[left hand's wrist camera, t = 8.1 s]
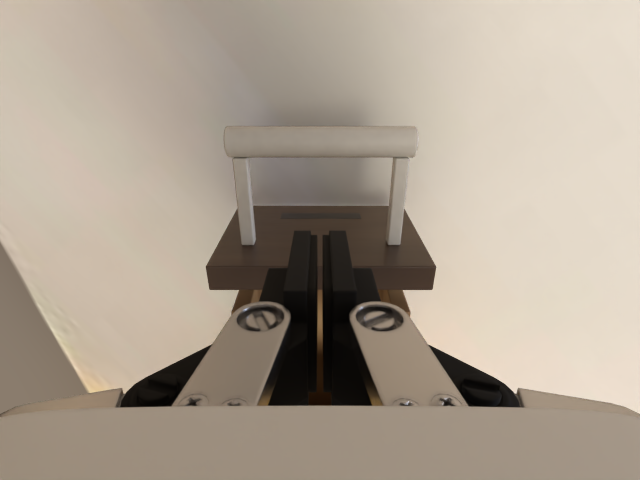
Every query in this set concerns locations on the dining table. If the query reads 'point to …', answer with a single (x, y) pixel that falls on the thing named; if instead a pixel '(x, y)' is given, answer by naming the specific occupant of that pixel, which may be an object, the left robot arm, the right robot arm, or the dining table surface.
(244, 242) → the drawer
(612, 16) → the dining table surface
